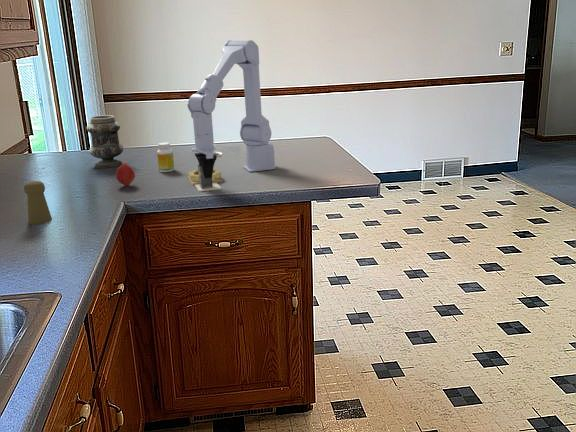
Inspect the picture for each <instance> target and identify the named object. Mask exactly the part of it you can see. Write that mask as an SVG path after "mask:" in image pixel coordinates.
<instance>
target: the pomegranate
mask: <svg viewBox="0 0 576 432" xmlns="http://www.w3.org/2000/svg"><path fill="white" fill-rule="evenodd" d="M135 174H136V173H135V171H134V168H132V167H131V166H130V165H128V164H127V162H126V161H124V162H122V164H121V165H119V167H118V168H117V169H116V172H115V178H116V180H117V182H118V183H119V184H121V185H123V186H125V187H129V186H130V184H131V183H132V182H133V181H134V180H135V178H136V175H135Z"/></svg>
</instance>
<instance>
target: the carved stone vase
mask: <svg viewBox="0 0 576 432" xmlns="http://www.w3.org/2000/svg"><path fill="white" fill-rule="evenodd" d="M89 119H90V121H89V123H88V124H87V126H86V130H87V132H88V133H89V134H90V138H91V146H90V147H89V150H88V151H89V154H90V155H91V156H92V157H94V158H96V159H101V160H99V161H98V162H96V163H95V164H94V167H96V168H99V169H102V168H103V169H104V168H107V169H109V168H114V167H118V166H121V165H122V164H123V162H122V161H121V160H119V159H116V157H118V156H120V155H121V154H123V152H124V146H123V145H122V143H120V141H119V134H118V131H120V129H121V125H120V123H119V122H118V121H117V120H116V119H115V116H114V115H112V114H111V115H109V114H107V115H105V114H102V115H94V116H91V117H90V118H89ZM114 158H115V159H114Z"/></svg>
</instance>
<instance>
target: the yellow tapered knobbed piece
mask: <svg viewBox="0 0 576 432" xmlns="http://www.w3.org/2000/svg"><path fill="white" fill-rule="evenodd" d="M45 190H46V186H45V183H43V182H42V181H39V180H32V181H28V182H26V183H25V184H24V185H23V191H24V194H26V196H27V197H26V198H27V218H28V219H27V222H28V224H29V225H34V226H35V225H43V224H47V223H49V222H52V220H53V217H52V215H51V212H50V208H49V205H48V202H47V200H46V196H45V193H44V192H45Z"/></svg>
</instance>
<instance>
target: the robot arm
mask: <svg viewBox="0 0 576 432" xmlns="http://www.w3.org/2000/svg"><path fill="white" fill-rule="evenodd" d="M259 49H260V48H259V45H258V44H257V43H256V42H255V41H254V40H251V39H250V40H228V41H225V43H224V46H223V47H222V49H221V51H222V55H221V58H219V59H220V60H219V61H218V62H217V63H218V64H217V66H216V67H215V69H214V72H213V73H212V74H208V75H206V76H205V77H204V80H203V81H202V84H201V86H200V87H199V88H198V90H197V91H196V93H193V94H192V95H191V96H190V97H189V98H188V103H187V109H188V111H189V112H190V117H191V118H192V122H193V135H194V136H193V137H194V144H195V145H194V146H195V147H192V148H191V152H193V153H194V152H195V153H194V156H195V157H196V159H197V162H198V164H201V165H202V169H203V173H204V177H205V179H207V178H212V174H213V169H214V167H215V164H216V163H215V162H216V161H217V159H218V156H216V155H213V152H214V150H215V147H214V144H215V143H214V141H215V140H214V129H213V128H214V126H213V116H212V115H213V112H214V111H215V108H216V102H217V97H218V96H219V94H220V92H221V91H222V89H223V87H224V81H223V80H224V79H225V78H226V76H227V75H228V74H229V72H230V71H231V70H232V68H233V67H234V66H235V65H238V66H239V67H240V68H241V69H242V76H243V87H244V88H243V91H244V104H245V117H243V118H242V120H241V121H240V130H239V137H240V138H241V139H240V140H242V142H243V144H244V145H245V153H246V155H245V156H246V165H243V168H245V170H246V171H248V172H250V173H251V172H252V173H253V172H260V171H267V170H268V171H270V170H276V165H275V164H276V161H275V147H274V145H273V143H272V141H271V142H270V140H271V139H272V129H271V126H270V120H269V119H267V118H266V117H265V116H264V115H263V113H262V98H261V97H262V95H261V82H260V81H261V79H260V50H259Z"/></svg>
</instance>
